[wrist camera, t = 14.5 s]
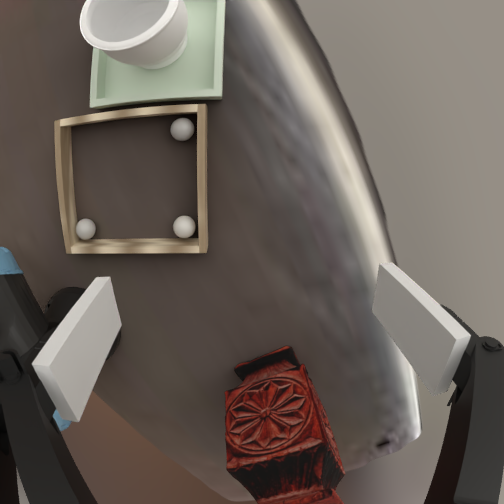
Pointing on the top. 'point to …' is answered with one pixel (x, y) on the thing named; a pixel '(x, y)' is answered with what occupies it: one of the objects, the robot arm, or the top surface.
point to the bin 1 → (172, 76)
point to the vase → (281, 434)
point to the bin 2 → (128, 245)
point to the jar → (137, 30)
